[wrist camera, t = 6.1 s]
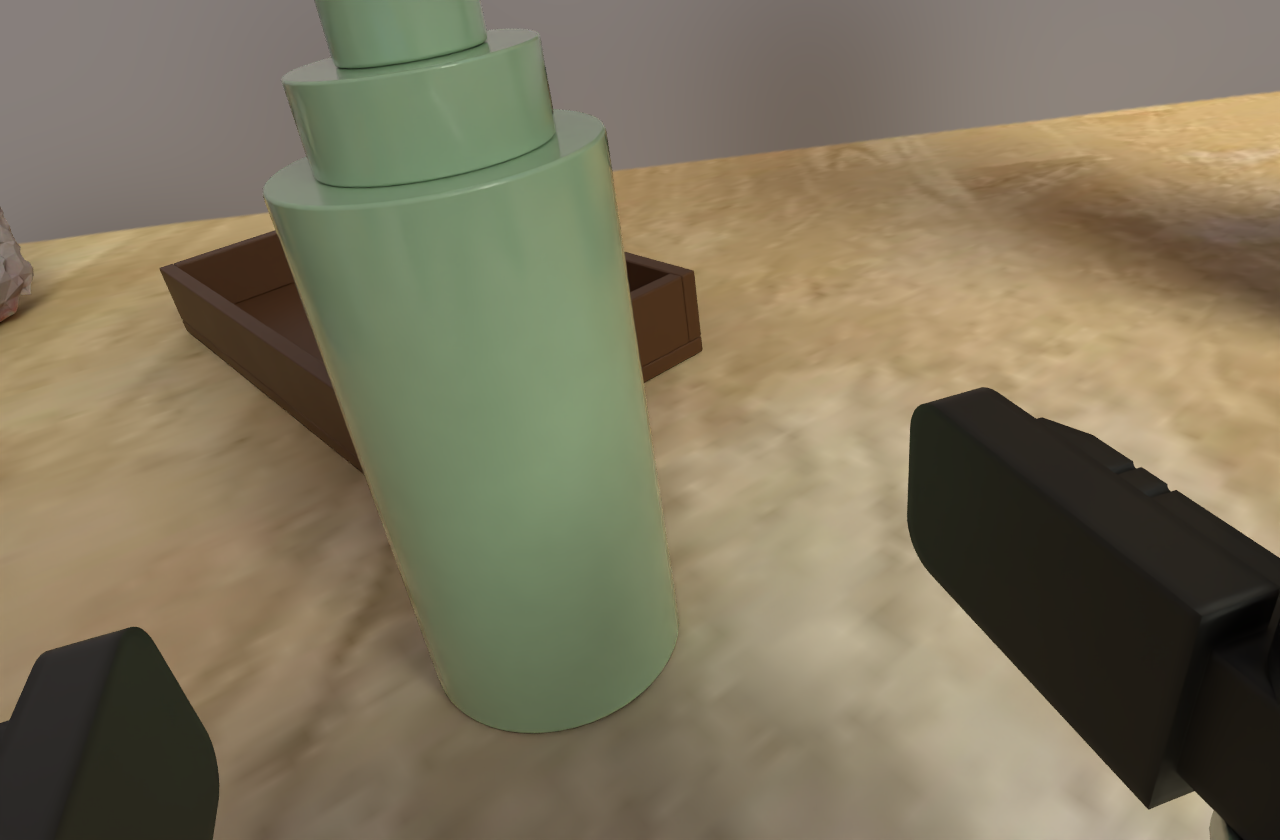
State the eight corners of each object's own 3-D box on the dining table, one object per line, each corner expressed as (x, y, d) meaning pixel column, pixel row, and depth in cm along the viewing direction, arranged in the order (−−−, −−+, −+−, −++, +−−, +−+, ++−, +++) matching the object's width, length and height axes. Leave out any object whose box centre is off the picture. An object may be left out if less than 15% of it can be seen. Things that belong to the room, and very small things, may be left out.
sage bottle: (579, 525, 23) (423, -200, 15) (730, 623, 19) (633, -278, 11) (393, 641, 20) (74, -176, 12) (529, 785, 16) (195, -272, 8)
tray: (415, 246, 46) (399, 189, 44) (703, 351, 31) (694, 270, 29) (186, 331, 39) (158, 267, 38) (409, 512, 25) (378, 421, 23)
